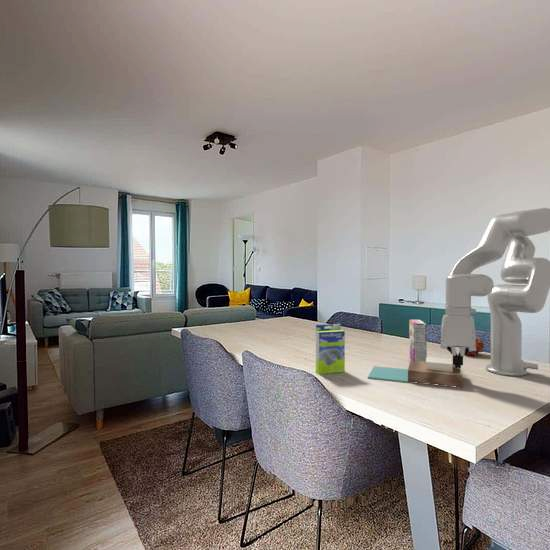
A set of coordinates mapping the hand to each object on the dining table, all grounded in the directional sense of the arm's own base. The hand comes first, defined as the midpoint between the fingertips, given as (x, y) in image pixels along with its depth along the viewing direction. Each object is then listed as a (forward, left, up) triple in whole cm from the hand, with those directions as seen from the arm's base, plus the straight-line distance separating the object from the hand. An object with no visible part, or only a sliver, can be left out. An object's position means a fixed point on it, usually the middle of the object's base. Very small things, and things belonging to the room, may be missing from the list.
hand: (457, 367), depth 121 cm
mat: (+22, 0, -5) cm, 22 cm away
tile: (+6, 0, -1) cm, 6 cm away
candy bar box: (+13, -23, -5) cm, 27 cm away
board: (+7, 0, -5) cm, 9 cm away
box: (+42, +4, -5) cm, 43 cm away
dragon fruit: (-8, -44, -5) cm, 45 cm away
